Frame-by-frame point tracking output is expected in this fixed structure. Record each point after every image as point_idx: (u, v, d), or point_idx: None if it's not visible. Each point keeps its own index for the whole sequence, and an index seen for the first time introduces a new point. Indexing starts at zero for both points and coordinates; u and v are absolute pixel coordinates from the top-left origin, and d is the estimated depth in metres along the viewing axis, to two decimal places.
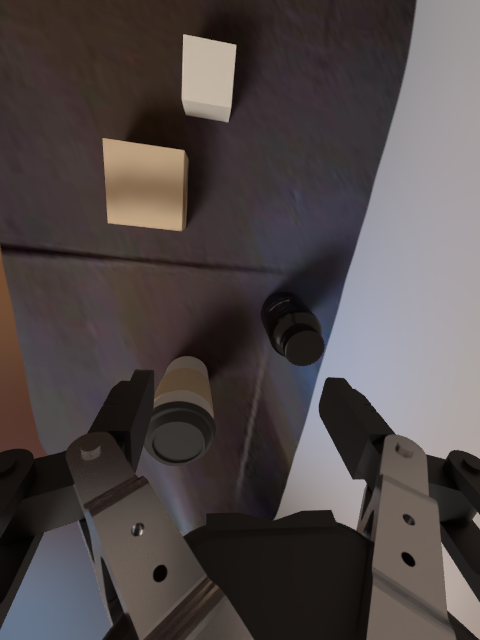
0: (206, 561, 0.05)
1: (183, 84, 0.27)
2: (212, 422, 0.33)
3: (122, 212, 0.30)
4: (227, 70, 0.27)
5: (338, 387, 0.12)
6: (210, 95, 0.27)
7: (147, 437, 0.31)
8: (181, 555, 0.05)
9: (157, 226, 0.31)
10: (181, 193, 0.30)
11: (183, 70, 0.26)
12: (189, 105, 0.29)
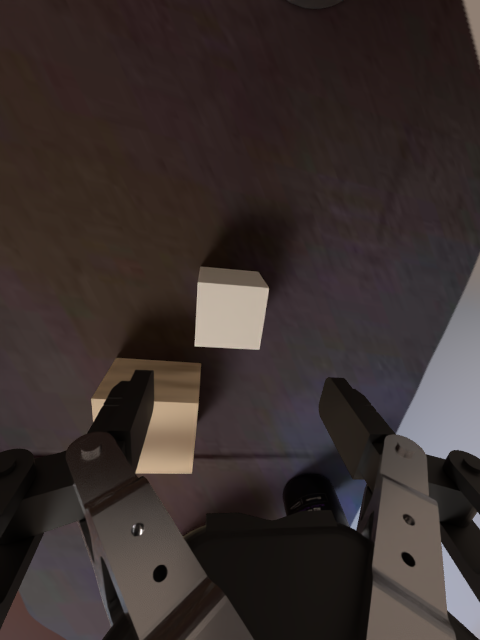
0: (206, 561, 0.05)
1: (197, 331, 0.20)
2: None
3: None
4: (256, 313, 0.20)
5: (338, 387, 0.12)
6: (232, 339, 0.21)
7: None
8: (181, 555, 0.05)
9: (161, 471, 0.24)
10: (193, 441, 0.23)
11: (197, 318, 0.20)
12: None
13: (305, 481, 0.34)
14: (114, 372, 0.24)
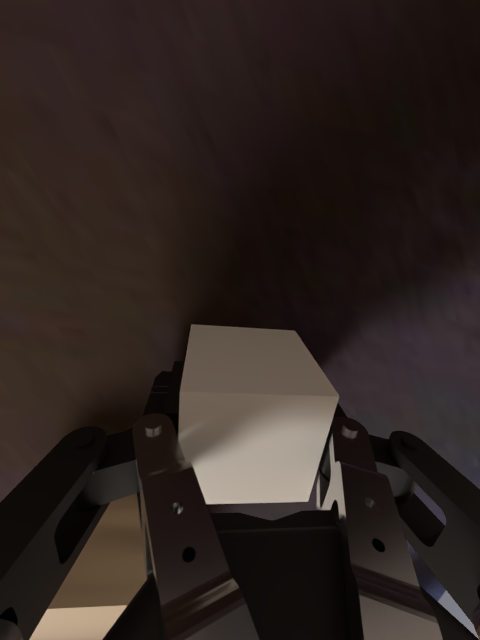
0: None
1: None
2: None
3: None
4: (307, 443, 0.09)
5: None
6: (254, 489, 0.10)
7: None
8: (210, 545, 0.05)
9: None
10: None
11: None
12: None
13: None
14: None
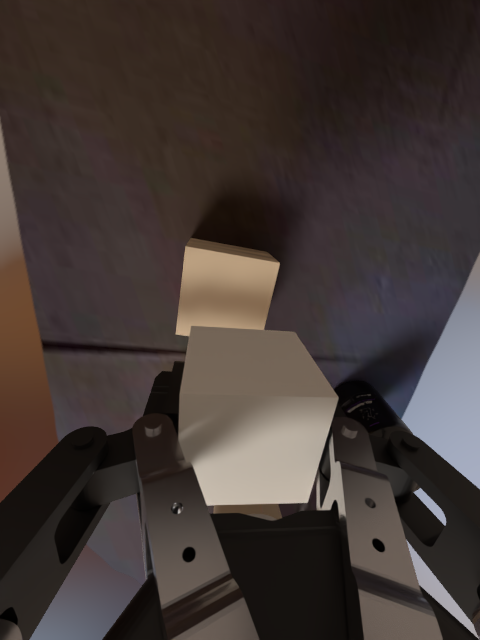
0: None
1: None
2: None
3: (194, 324, 0.25)
4: (307, 445, 0.09)
5: None
6: (253, 490, 0.10)
7: None
8: (210, 546, 0.05)
9: None
10: (267, 307, 0.25)
11: None
12: None
13: (352, 385, 0.35)
14: (195, 242, 0.25)
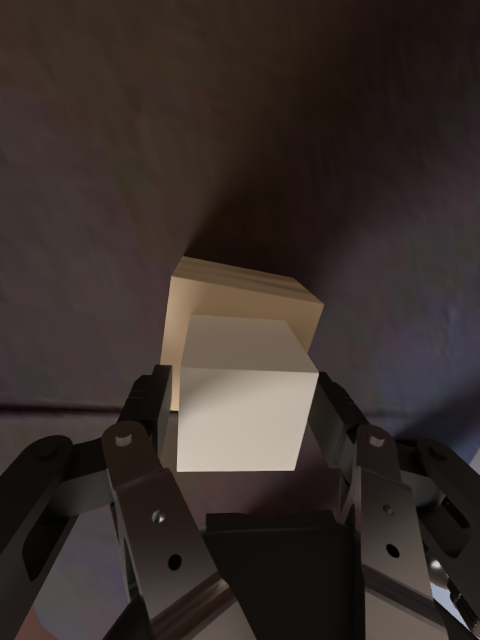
0: None
1: (181, 449, 0.11)
2: None
3: None
4: (292, 416, 0.11)
5: (318, 380, 0.12)
6: (245, 457, 0.11)
7: None
8: (196, 549, 0.05)
9: None
10: None
11: (180, 427, 0.10)
12: None
13: None
14: (188, 264, 0.16)
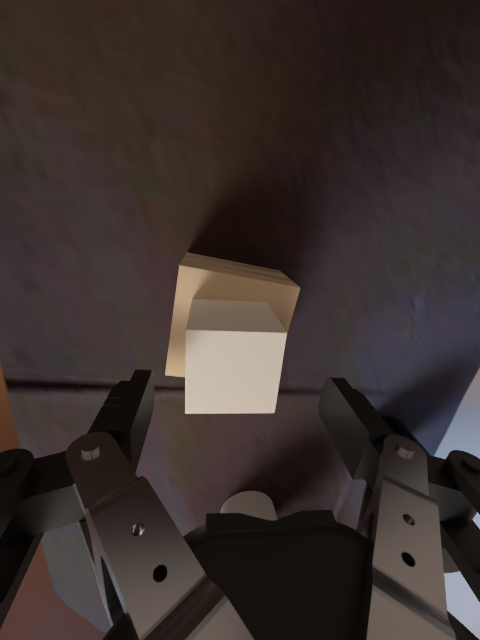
0: (206, 561, 0.05)
1: (187, 394, 0.14)
2: None
3: None
4: (270, 367, 0.14)
5: (338, 387, 0.12)
6: (236, 402, 0.15)
7: None
8: (181, 556, 0.05)
9: None
10: None
11: (187, 377, 0.14)
12: None
13: None
14: (192, 258, 0.20)
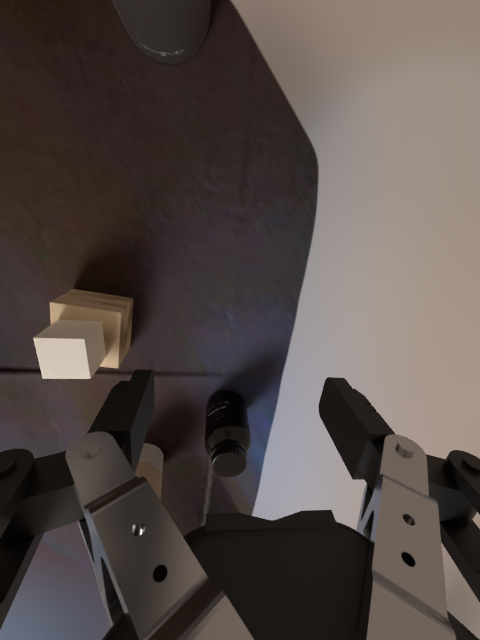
0: (206, 561, 0.05)
1: (41, 368, 0.30)
2: None
3: None
4: (80, 355, 0.29)
5: (338, 387, 0.12)
6: (68, 373, 0.30)
7: None
8: (181, 556, 0.05)
9: None
10: (118, 342, 0.35)
11: (39, 360, 0.29)
12: None
13: (220, 394, 0.45)
14: (69, 294, 0.35)
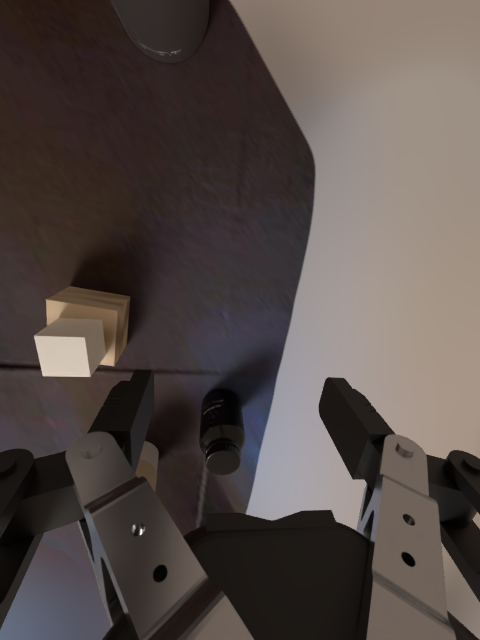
0: (206, 561, 0.05)
1: (42, 366, 0.30)
2: None
3: None
4: (80, 353, 0.30)
5: (338, 387, 0.12)
6: (68, 370, 0.30)
7: None
8: (181, 556, 0.05)
9: None
10: (114, 340, 0.35)
11: (39, 358, 0.29)
12: None
13: (215, 392, 0.45)
14: (65, 291, 0.35)
